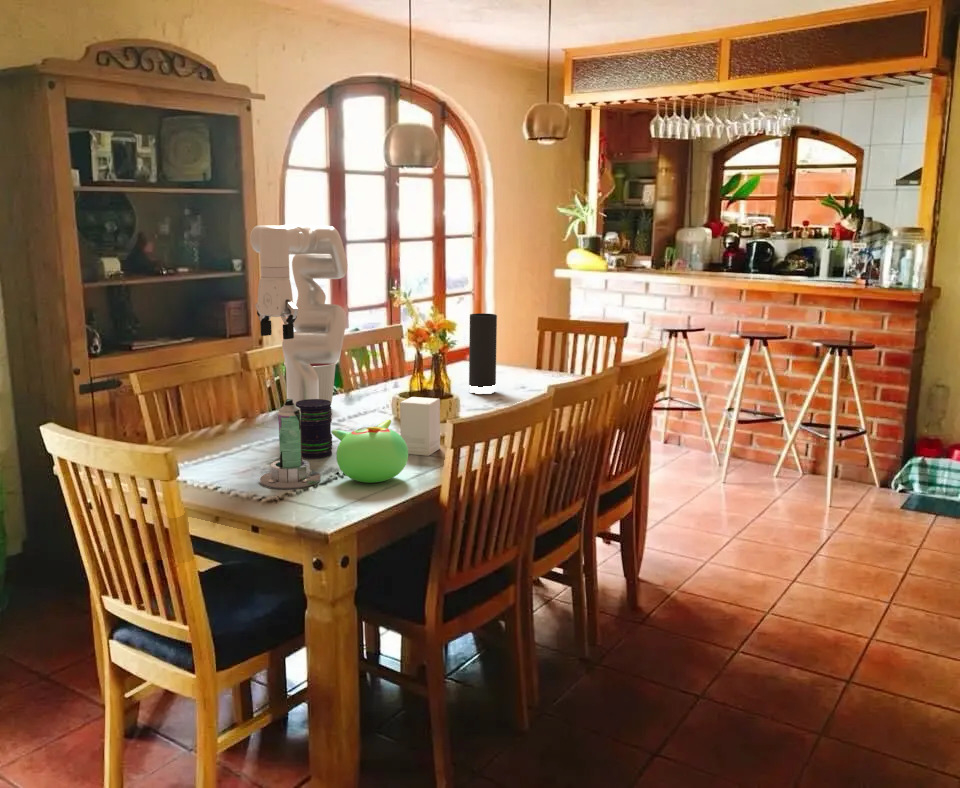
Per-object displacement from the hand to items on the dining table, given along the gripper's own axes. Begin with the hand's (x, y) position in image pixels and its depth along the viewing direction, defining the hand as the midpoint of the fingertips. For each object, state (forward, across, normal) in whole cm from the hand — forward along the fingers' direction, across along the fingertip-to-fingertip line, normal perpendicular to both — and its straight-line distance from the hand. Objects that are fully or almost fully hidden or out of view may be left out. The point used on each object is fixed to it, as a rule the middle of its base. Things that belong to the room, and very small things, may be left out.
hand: (277, 337), depth 237 cm
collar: (+33, +21, -13) cm, 41 cm away
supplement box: (+34, +25, +30) cm, 51 cm away
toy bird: (+33, +36, +1) cm, 49 cm away
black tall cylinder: (+34, -18, +109) cm, 116 cm away
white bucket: (+34, -42, +45) cm, 70 cm away
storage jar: (+34, +6, +7) cm, 35 cm away
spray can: (+33, +21, -13) cm, 41 cm away
